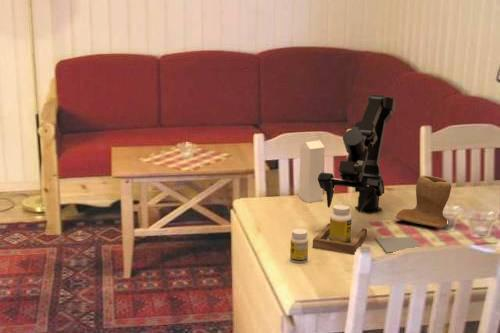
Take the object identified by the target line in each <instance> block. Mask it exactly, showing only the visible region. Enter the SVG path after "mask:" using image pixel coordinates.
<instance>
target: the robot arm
mask: <svg viewBox="0 0 500 333" xmlns="http://www.w3.org/2000/svg"><path fill="white" fill-rule="evenodd" d="M396 107H397V101H396V100H395V98H393V96H385V95H384V94H383V95H382V94H371V95H368V100H367V105H366V107H365V110H364V113H363V115H362V117H361V119H360V121H358V122H356V123H355V124H354V125H353V126H352V127H351V129H349V130H347V131H346V132H344V134H343V135H342V141H343V144H344V148H345V151H346V153H347V154H348V155H347V158H346V160H340V161H339V166H338V172H339V176H340V177H341V178H335V176H334V175H333V173H330V172H329V173H328V172H324V173H323V172H322V173H320V174H319V176H318V182H319V185H320V187H321V188H322V189H323V192H325V194H326V206H327V208H329V209H330V207H331V205H332V201H333V198H334V193H335V190H334V189H335V186H340V187H341V186H342V187H348V188H354V191H355V192H356V193H358V197H357V206H355V207H354V209H356V210H358V211H357V212H358V213H361V212H364V213H366V214H371V213H375V212H379V211H383V208H382V207H380V197H382V196H383V195H384V194H385V182H384V179H383V178H384V177H383V176H382V175H383V173H382V171H381V168H380V165H379V164H380V159H381V155H382V154H381V153H382V148H383V143H384V137H385V131H386V127H387V126H386V125H387V124H388V123H389V121H390V120H391V119H392V118H393V115H394V112H395V111H396ZM366 147H367V148H366Z"/></svg>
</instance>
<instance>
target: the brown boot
mask: <svg viewBox="0 0 500 333" xmlns="http://www.w3.org/2000/svg"><path fill="white" fill-rule="evenodd" d="M451 190H452V184H451V182H450V181H449V180H447V179H445V178H441V177H437V176H431V175H420V176H419V178H418V179H417V182H416V187H415V196H416V198H415V199H416V206H415V207H414V208H412V209H411V208H402V209H401V210H399V211H398V212H397V213H396V214H395V215H396V216H395V219H397V220H399V221H400V220H401V221H405V222H408V223H412V224H417V225H422V226H427V227H433V228H444V227H446V226H448V224H447V219H448V218H447V217H446V218H447V219H446V218H445V216H444V209H445V207H446V206H447V202H448V201H449V198H450V196H451V195H450V194H451Z"/></svg>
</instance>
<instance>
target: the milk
mask: <svg viewBox="0 0 500 333" xmlns="http://www.w3.org/2000/svg"><path fill="white" fill-rule="evenodd" d="M299 148H300V150H299V182H298V183H299V184H298V186H299V187H298V199H300V200H301V201H304V202H306V203H307V204H310V202H311V203H315V202H320V201H321V200H322V201H323V199H324V189H322V188H321V187H320V185H319V182H318V176H319V174H320V173H322V172H323V173H325V150H326V149H325V148H326V147H325V145H324V144H323V143H322V141H321V136H319V135H317V136H310V137H309V136H308V137H305V139H304V142H303V143H301V145H300V147H299Z"/></svg>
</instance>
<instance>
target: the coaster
mask: <svg viewBox="0 0 500 333" xmlns="http://www.w3.org/2000/svg"><path fill="white" fill-rule="evenodd" d="M375 241H376V243H377V244H378V245H379V246H380V248H381V249H382V250H383V251H384V253H385V254H386V255H388V254H387V253H393V252H396V251H399V250H403V249H406V248H415V247H422V246H421V245H420V244H419V243H418V242H417V240H416V239H414V237H413V236H402V237H401V236H400V237H398V236H397V237H376V238H375Z"/></svg>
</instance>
